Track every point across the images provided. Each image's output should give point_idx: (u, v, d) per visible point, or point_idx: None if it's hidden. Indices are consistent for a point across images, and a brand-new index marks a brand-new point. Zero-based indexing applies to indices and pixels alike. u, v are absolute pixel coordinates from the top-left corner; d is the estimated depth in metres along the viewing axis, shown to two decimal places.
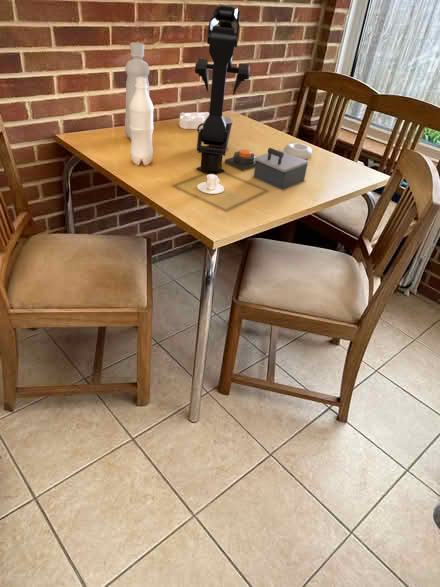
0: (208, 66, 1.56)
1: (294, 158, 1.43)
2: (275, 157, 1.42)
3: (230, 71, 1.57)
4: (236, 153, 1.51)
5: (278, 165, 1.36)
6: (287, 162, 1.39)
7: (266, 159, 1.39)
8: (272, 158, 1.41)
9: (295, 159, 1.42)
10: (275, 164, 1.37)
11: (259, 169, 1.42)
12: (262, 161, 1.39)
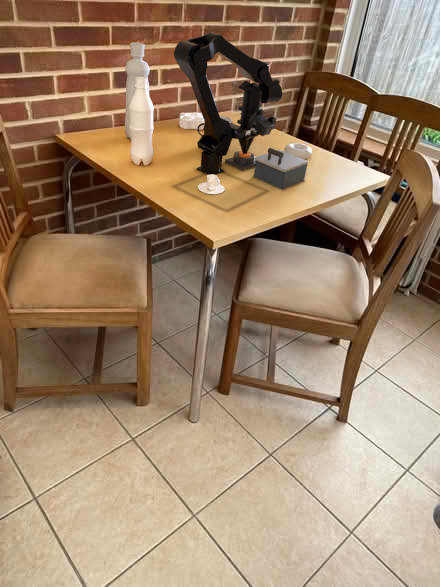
0: None
1: (294, 158, 1.43)
2: (275, 157, 1.42)
3: None
4: (236, 153, 1.51)
5: (278, 165, 1.36)
6: (287, 162, 1.39)
7: (266, 159, 1.39)
8: (272, 158, 1.41)
9: (295, 159, 1.42)
10: (275, 164, 1.37)
11: (259, 169, 1.42)
12: (262, 161, 1.39)
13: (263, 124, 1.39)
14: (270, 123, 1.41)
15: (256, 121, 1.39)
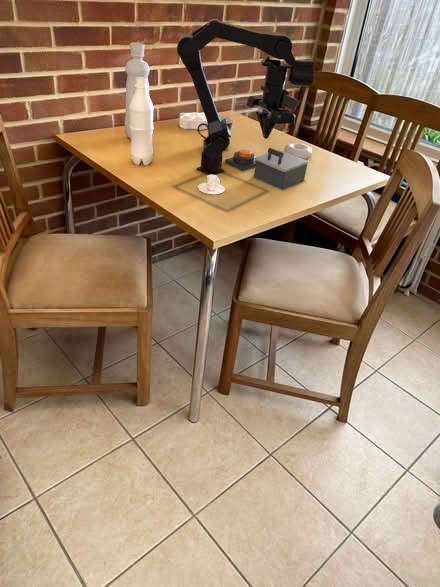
0: None
1: (294, 158, 1.43)
2: (275, 157, 1.42)
3: None
4: (236, 153, 1.51)
5: (278, 165, 1.36)
6: (287, 162, 1.39)
7: (266, 159, 1.39)
8: (272, 158, 1.41)
9: (295, 159, 1.42)
10: (275, 164, 1.37)
11: (259, 169, 1.42)
12: (262, 161, 1.39)
13: None
14: (290, 96, 1.36)
15: (290, 98, 1.32)
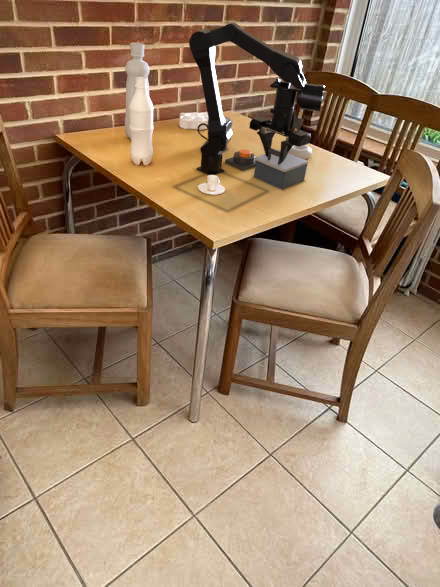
0: (265, 124, 1.35)
1: (294, 158, 1.43)
2: (275, 157, 1.42)
3: (285, 135, 1.31)
4: (236, 153, 1.51)
5: (278, 165, 1.36)
6: (287, 162, 1.39)
7: (266, 159, 1.39)
8: (272, 158, 1.41)
9: (295, 159, 1.42)
10: (275, 164, 1.37)
11: (259, 169, 1.42)
12: (262, 161, 1.39)
13: None
14: None
15: (297, 118, 1.32)
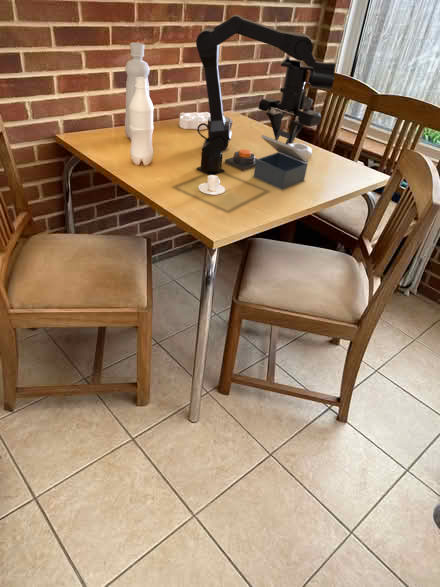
0: (275, 105, 1.34)
1: None
2: None
3: (295, 115, 1.30)
4: (236, 153, 1.51)
5: None
6: None
7: None
8: None
9: None
10: (283, 143, 1.34)
11: (259, 169, 1.42)
12: (269, 138, 1.36)
13: None
14: None
15: (307, 98, 1.31)
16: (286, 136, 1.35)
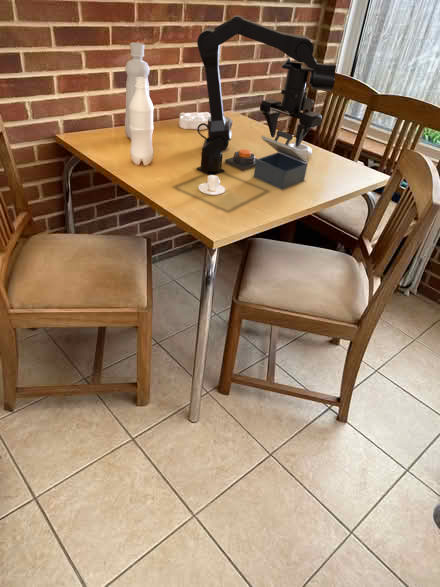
0: (276, 106, 1.34)
1: None
2: None
3: (296, 116, 1.31)
4: (236, 153, 1.51)
5: (285, 145, 1.34)
6: None
7: None
8: None
9: None
10: (282, 144, 1.34)
11: (259, 169, 1.42)
12: (269, 139, 1.36)
13: None
14: None
15: (308, 100, 1.32)
16: (286, 137, 1.35)
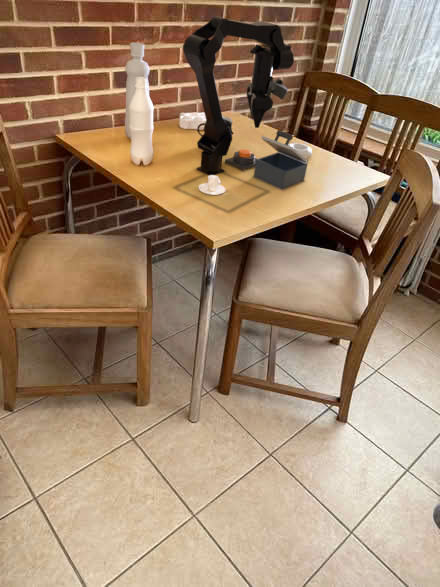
0: None
1: None
2: None
3: None
4: (236, 153, 1.51)
5: (285, 145, 1.34)
6: None
7: None
8: None
9: None
10: (282, 144, 1.34)
11: (259, 169, 1.42)
12: (269, 139, 1.36)
13: (283, 87, 1.39)
14: (282, 85, 1.42)
15: (276, 86, 1.38)
16: (286, 137, 1.35)
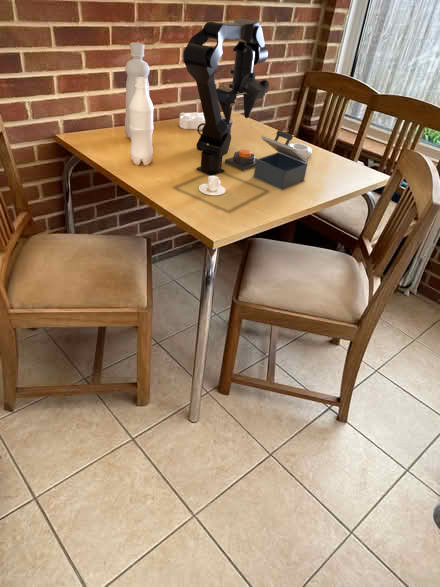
0: None
1: None
2: None
3: None
4: (236, 153, 1.51)
5: (285, 145, 1.34)
6: None
7: None
8: None
9: None
10: (282, 144, 1.34)
11: (259, 169, 1.42)
12: (269, 139, 1.36)
13: (256, 87, 1.36)
14: (262, 86, 1.38)
15: (248, 84, 1.36)
16: (286, 137, 1.35)
